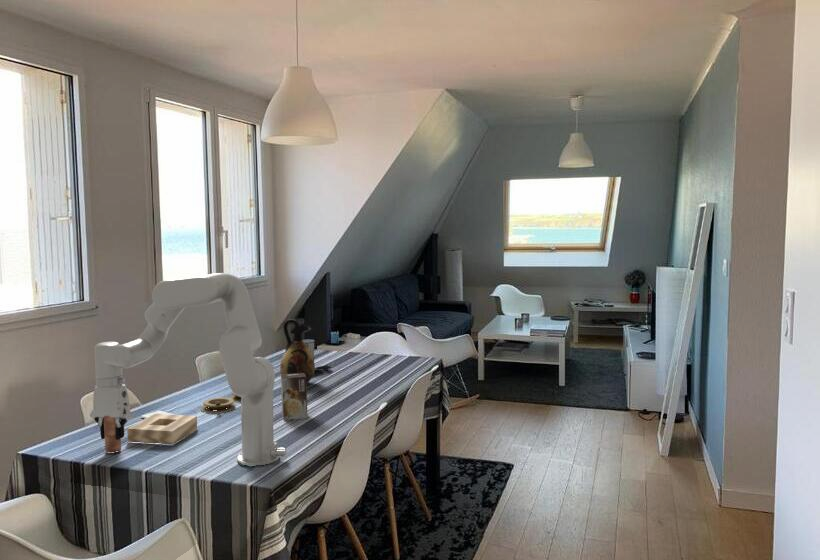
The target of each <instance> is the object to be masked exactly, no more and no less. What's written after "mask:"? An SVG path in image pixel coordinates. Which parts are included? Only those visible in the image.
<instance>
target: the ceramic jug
mask: <svg viewBox="0 0 820 560" xmlns="http://www.w3.org/2000/svg"><path fill="white" fill-rule="evenodd" d="M290 324H293V325H294V327H293V328H292V329H291V330H290V333H291V334H293V338H291V336H290V334H289V328H288V325H290ZM311 330H312V328H311V327H310V326H309V324H308V323H306V322H301V324H299V322H298V320H296V319H294V318H288V319H287V320H285V321H284V323H283V333H284V336H285V339H286V342H287V344H286V346H285V352H284V354H283V356H282V358H281V359H280V360H281V361H280V366H279V371H280V372H279V373H280V375H281V374H296V373H304V374H305V375H306V384H307V387H308V386H309V382H310V381H311V379H312V378H313V377H314V375H315V370H316V369H315V368H316V367H315V365H316V363H315V359H314V360H313V357H312V354H311V353H310V351H309V349H308V348H307V346H306V345H305V343H304V342H303V340H304V339H303V336H302V335H303V334H304V333H306V332H310V331H311ZM291 339H292V340H291Z"/></svg>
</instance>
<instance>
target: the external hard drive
mask: <svg viewBox="0 0 820 560" xmlns="http://www.w3.org/2000/svg"><path fill="white" fill-rule="evenodd" d="M154 414H169V415H176V414H174V413H171V412H166V411H162V410H155V411H153V412H149V413H145V414H143V415H142V414H141V416H140V418H141V419H142V418H148V417H150V416H152V415H154Z"/></svg>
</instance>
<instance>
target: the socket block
mask: <svg viewBox="0 0 820 560" xmlns="http://www.w3.org/2000/svg"><path fill="white" fill-rule="evenodd" d="M195 430H196V431H198V416H197V415H185V414H175V415H169V414H154V415H152V416H150V417H148V418H146V419H142V420H141V421H139V422H137V423H135V424H134V425H132V426H130V427H128V428H127V433H126V434H127V443H128V442H144V443H161V444H174V443H176V442H177V441H179V440H181V439H183V438H184V437H186V436H187V437H189V436H190V435H192V434H193V433H195V432H196V431H195ZM194 431H195V432H194ZM192 432H193V433H192ZM191 433H192V434H191ZM189 434H190V435H189ZM188 435H189V436H188ZM187 437H186V438H187ZM184 439H185V438H184ZM184 439H183V440H184ZM181 441H182V440H181Z"/></svg>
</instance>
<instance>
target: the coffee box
mask: <svg viewBox="0 0 820 560" xmlns="http://www.w3.org/2000/svg"><path fill="white" fill-rule="evenodd" d="M280 382H281V383H280V388H281V389H280V391H281V416H282V420H283V421H291V420H290V419H294V420H305V419H308V393H307V392H308V391H307V389H308V388H307V387H308V386H307V384H306V375H305V374H304V373H296V374H281V373H280Z"/></svg>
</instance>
